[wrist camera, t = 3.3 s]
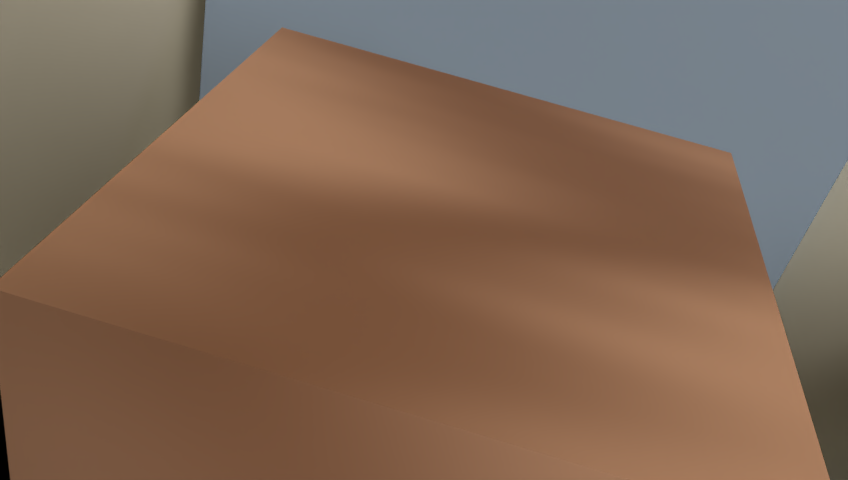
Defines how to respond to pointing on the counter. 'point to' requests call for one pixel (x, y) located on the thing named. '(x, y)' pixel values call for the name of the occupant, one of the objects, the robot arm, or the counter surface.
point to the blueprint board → (619, 74)
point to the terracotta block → (401, 296)
